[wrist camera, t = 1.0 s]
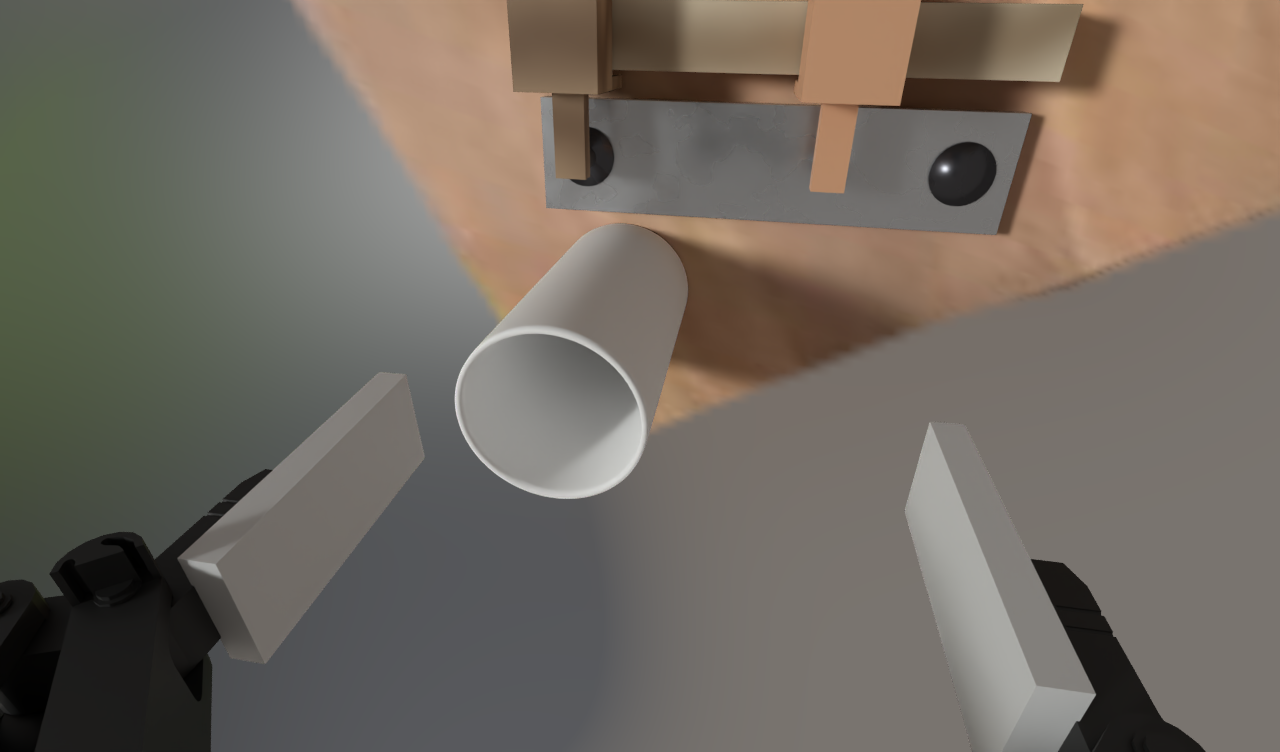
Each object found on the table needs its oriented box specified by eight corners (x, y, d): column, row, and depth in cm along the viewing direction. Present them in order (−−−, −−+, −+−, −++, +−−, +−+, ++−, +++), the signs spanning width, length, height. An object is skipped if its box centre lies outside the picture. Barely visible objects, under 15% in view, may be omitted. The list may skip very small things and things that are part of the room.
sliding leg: (807, -18, 29) (818, -34, 24) (895, -18, 29) (927, -33, 23) (783, 177, 34) (787, 203, 28) (859, 181, 33) (879, 208, 27)
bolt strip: (546, 95, 35) (539, 97, 34) (1024, 111, 31) (1033, 113, 30) (551, 204, 37) (545, 208, 36) (990, 230, 34) (996, 235, 33)
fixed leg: (544, -20, 31) (504, -32, 26) (622, -20, 31) (595, -32, 26) (553, 165, 35) (520, 184, 31) (621, 169, 35) (598, 189, 30)
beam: (541, 2, 32) (522, -2, 30) (1054, 7, 29) (1083, 4, 26) (544, 66, 34) (526, 67, 31) (1034, 78, 30) (1059, 81, 28)
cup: (693, 229, 37) (652, 340, 23) (683, 352, 41) (642, 512, 27) (560, 217, 38) (443, 317, 24) (562, 339, 42) (463, 485, 28)
